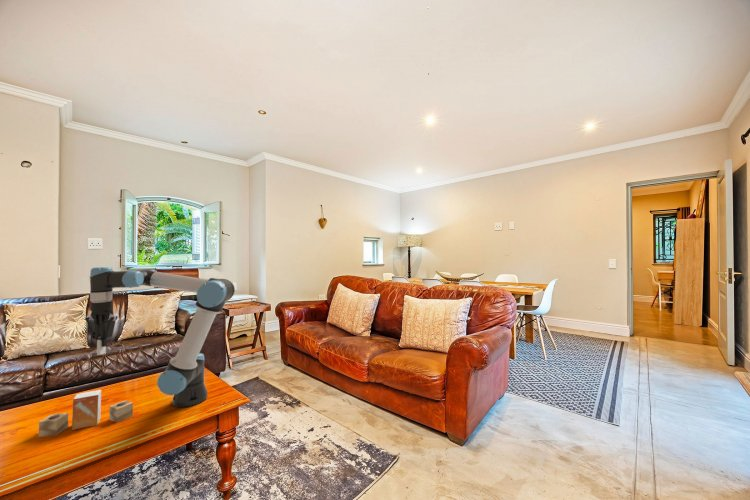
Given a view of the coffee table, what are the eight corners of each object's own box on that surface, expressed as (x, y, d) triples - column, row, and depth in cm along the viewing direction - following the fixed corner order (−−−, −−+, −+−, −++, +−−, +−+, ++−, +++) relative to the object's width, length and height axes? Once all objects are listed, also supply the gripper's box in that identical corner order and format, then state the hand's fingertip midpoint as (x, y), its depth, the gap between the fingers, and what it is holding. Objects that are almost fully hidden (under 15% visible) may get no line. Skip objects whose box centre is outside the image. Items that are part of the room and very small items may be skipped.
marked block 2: (132, 416, 137) (132, 402, 137) (117, 422, 132) (117, 408, 132) (124, 413, 140) (125, 399, 140) (109, 419, 134) (109, 405, 134)
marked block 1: (68, 427, 128) (68, 412, 128) (56, 435, 122) (56, 419, 122) (51, 428, 127) (51, 413, 127) (38, 437, 121) (39, 421, 121)
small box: (71, 430, 125) (72, 399, 126) (75, 423, 131) (76, 393, 131) (97, 424, 130) (98, 394, 130) (100, 418, 135) (101, 389, 135)
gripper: (122, 299, 140) (122, 351, 139) (95, 300, 140) (95, 351, 139) (108, 302, 132) (108, 356, 131) (79, 302, 132) (78, 356, 132)
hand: (101, 353), depth 135 cm, fingers closed
